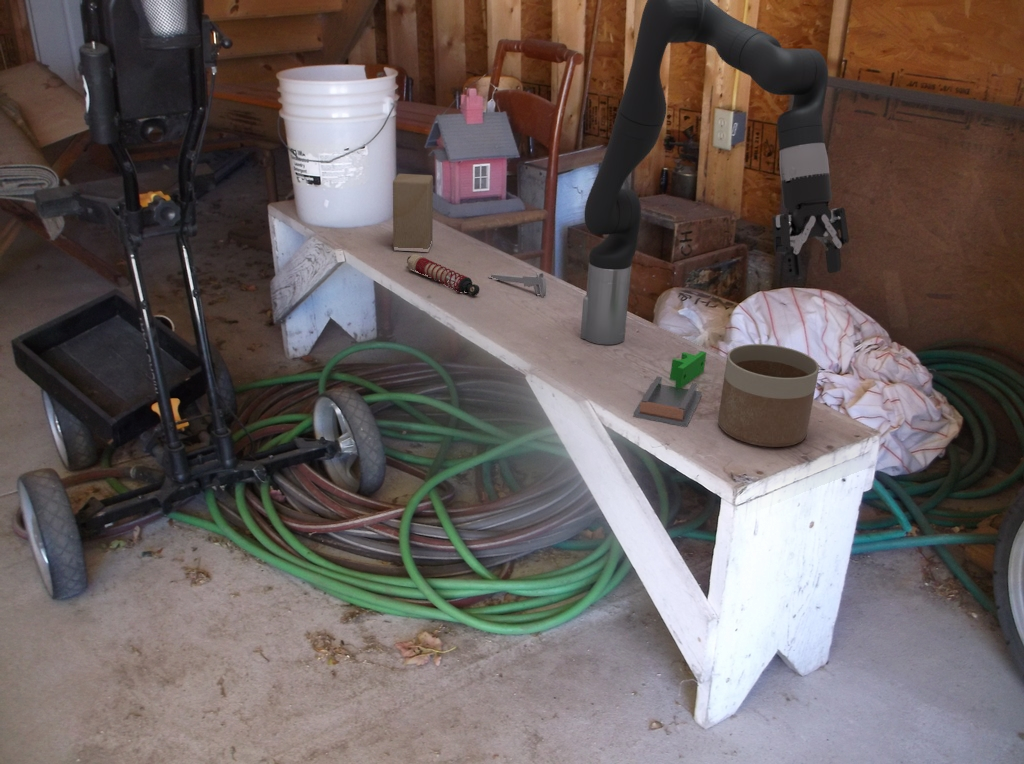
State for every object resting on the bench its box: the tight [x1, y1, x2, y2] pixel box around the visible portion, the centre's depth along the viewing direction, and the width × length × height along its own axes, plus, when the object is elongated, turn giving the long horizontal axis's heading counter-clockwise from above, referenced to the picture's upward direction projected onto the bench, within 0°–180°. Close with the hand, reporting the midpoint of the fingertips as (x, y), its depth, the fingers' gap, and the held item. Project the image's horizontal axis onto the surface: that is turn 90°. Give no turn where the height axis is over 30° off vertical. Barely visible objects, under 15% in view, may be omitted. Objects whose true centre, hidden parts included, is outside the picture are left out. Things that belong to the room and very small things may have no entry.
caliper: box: [490, 272, 547, 297], centre depth 241 cm, size 20×1×6 cm, turn 44°
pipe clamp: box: [669, 350, 707, 388], centre depth 193 cm, size 11×4×5 cm, turn 145°
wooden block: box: [392, 173, 434, 249], centre depth 267 cm, size 10×10×20 cm
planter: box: [717, 343, 820, 448], centre depth 171 cm, size 16×16×14 cm
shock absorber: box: [406, 253, 480, 296], centre depth 243 cm, size 5×5×30 cm
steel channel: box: [632, 375, 703, 427], centre depth 180 cm, size 10×15×3 cm, turn 159°
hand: (815, 275), depth 155 cm, fingers open, 8 cm apart
